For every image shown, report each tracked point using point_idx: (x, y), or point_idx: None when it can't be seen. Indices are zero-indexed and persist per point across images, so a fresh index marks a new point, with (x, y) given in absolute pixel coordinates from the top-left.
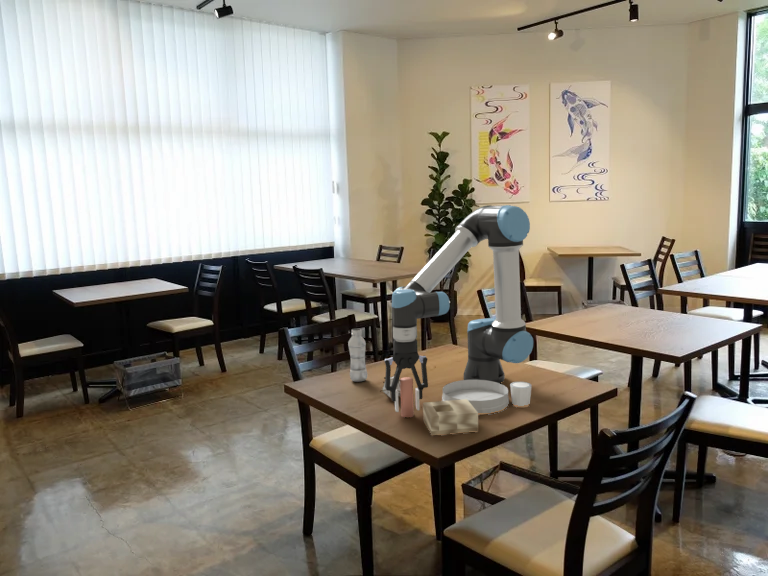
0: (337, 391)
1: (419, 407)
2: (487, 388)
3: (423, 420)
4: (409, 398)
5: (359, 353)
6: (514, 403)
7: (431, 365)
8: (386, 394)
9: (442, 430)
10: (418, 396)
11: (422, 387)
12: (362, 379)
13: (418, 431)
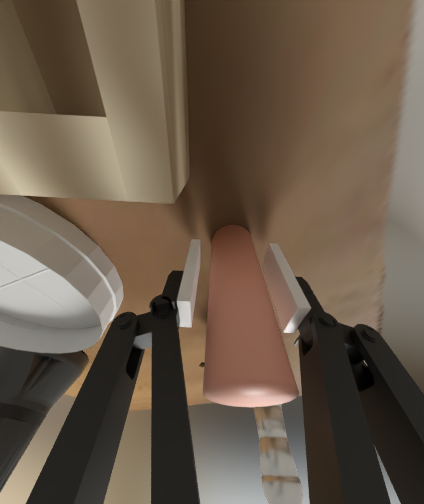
0: None
1: (190, 245)
2: (7, 321)
3: (189, 176)
4: (233, 269)
5: (277, 455)
6: None
7: (145, 390)
8: None
9: None
10: (186, 276)
11: (152, 318)
12: None
13: (242, 26)
